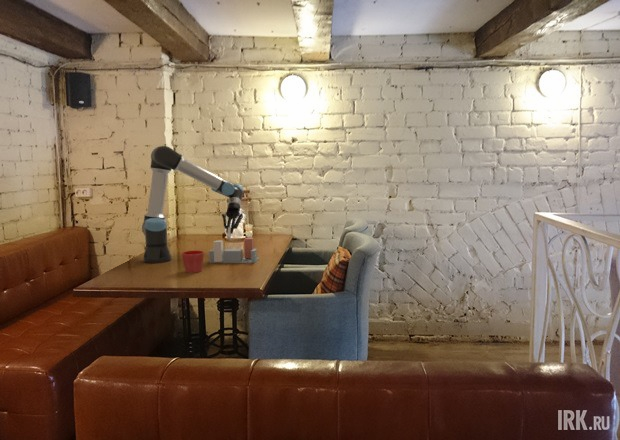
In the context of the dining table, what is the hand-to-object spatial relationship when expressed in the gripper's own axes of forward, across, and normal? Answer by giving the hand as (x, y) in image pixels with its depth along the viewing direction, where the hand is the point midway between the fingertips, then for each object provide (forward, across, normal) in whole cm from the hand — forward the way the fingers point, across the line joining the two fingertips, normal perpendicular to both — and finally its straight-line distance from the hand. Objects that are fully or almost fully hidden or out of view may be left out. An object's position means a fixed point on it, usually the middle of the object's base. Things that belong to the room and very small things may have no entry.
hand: (228, 237), depth 291 cm
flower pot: (+36, -8, -20) cm, 43 cm away
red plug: (+15, +14, +1) cm, 20 cm away
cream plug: (+21, -1, -5) cm, 21 cm away
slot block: (+17, +6, -1) cm, 18 cm away
